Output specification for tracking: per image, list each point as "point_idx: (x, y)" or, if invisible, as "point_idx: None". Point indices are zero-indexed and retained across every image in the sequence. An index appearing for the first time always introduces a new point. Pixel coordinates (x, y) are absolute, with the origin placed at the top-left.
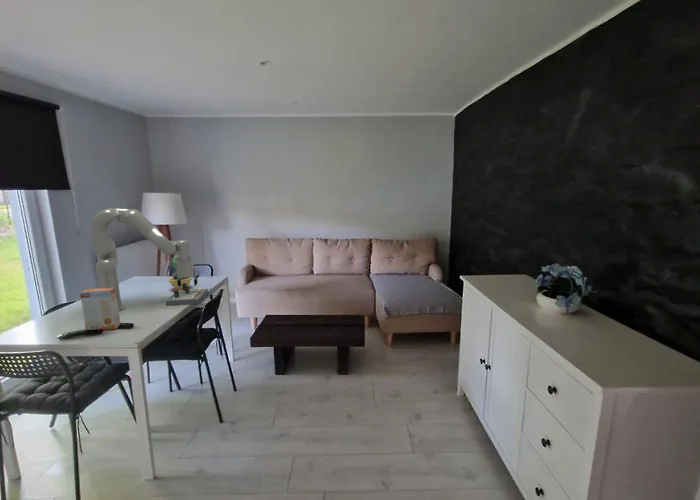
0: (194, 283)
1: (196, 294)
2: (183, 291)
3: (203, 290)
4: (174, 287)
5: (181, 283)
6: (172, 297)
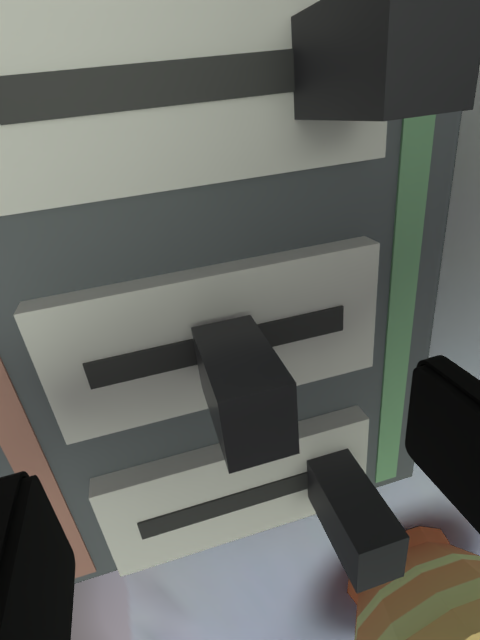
0: (12, 526)
1: (17, 310)
2: (329, 426)
3: (63, 529)
4: (464, 552)
5: (427, 609)
6: (415, 172)
